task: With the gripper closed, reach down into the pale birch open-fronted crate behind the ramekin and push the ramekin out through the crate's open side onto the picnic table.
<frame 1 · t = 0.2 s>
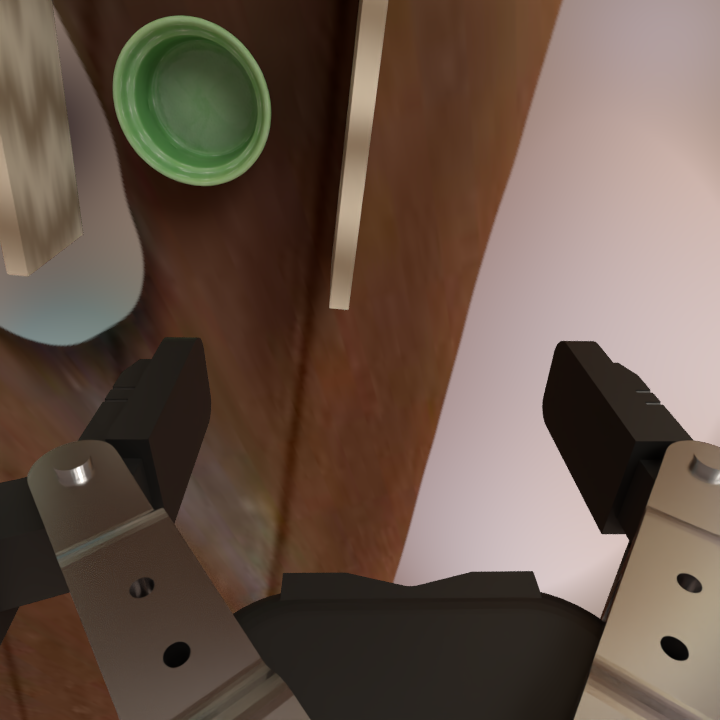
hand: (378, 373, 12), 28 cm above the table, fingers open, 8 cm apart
ramekin: (209, 99, 35), on the table
open crate: (207, 65, 34), on the table
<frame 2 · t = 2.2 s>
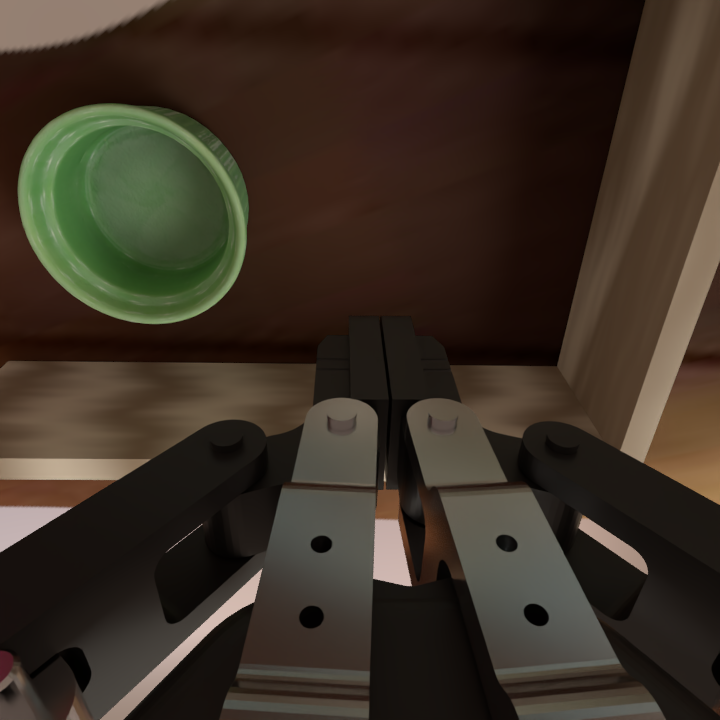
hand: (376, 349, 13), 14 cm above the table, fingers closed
ramekin: (166, 197, 26), on the table
open crate: (206, 199, 26), on the table
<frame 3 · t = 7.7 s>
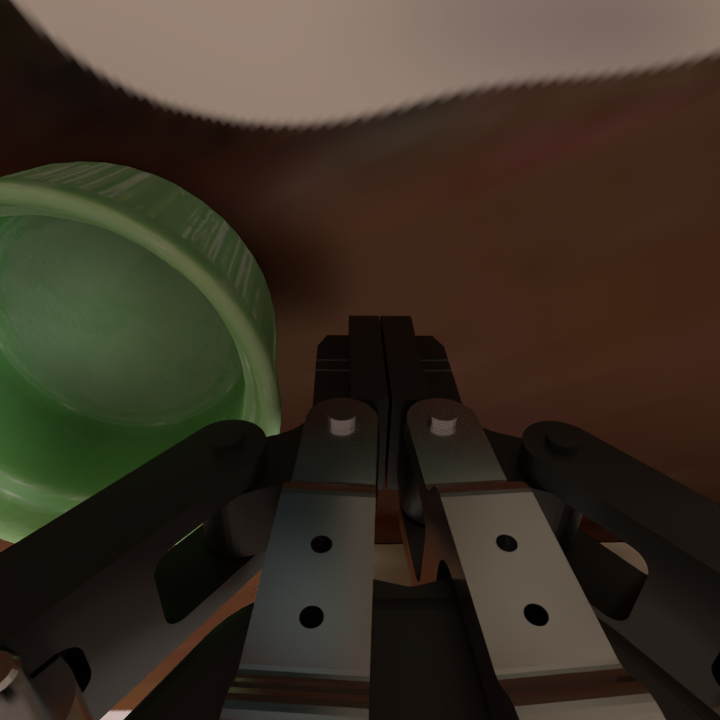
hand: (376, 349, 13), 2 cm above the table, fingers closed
ramekin: (130, 309, 15), on the table, touching gripper
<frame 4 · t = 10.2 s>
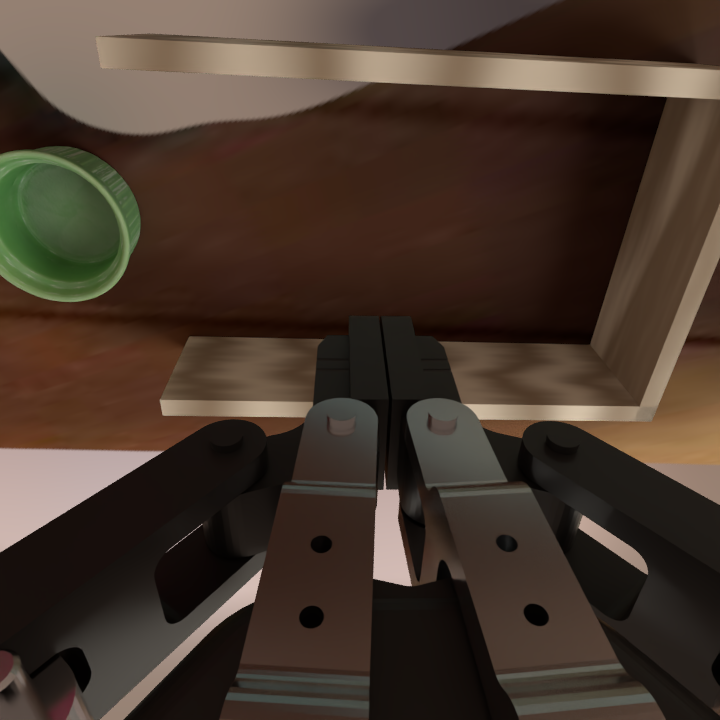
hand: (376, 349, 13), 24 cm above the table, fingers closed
ramekin: (79, 209, 35), on the table
open crate: (356, 222, 36), on the table
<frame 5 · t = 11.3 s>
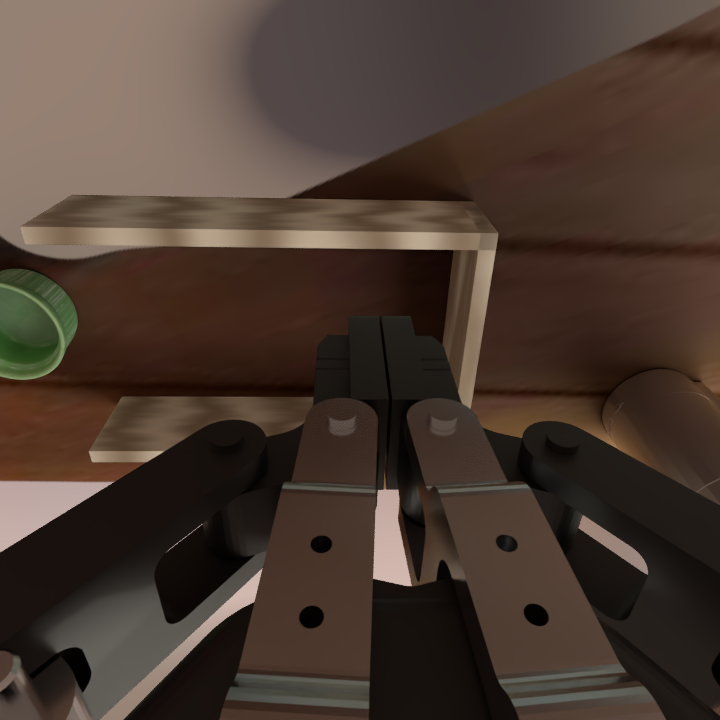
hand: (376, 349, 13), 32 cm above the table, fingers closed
ramekin: (32, 309, 48), on the table
open crate: (238, 313, 48), on the table
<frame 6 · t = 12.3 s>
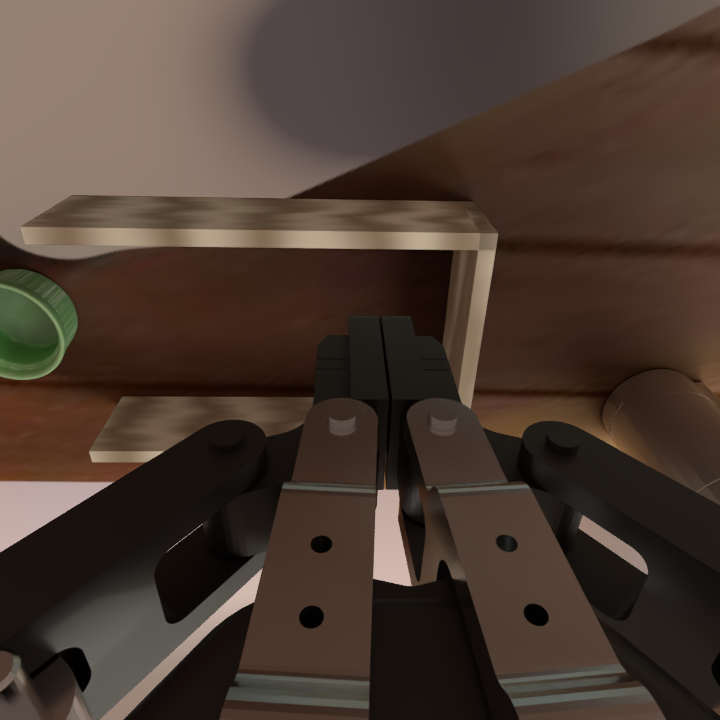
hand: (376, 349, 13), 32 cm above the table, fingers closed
ramekin: (33, 309, 48), on the table
open crate: (238, 313, 48), on the table
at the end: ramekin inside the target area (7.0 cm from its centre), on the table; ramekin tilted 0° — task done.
